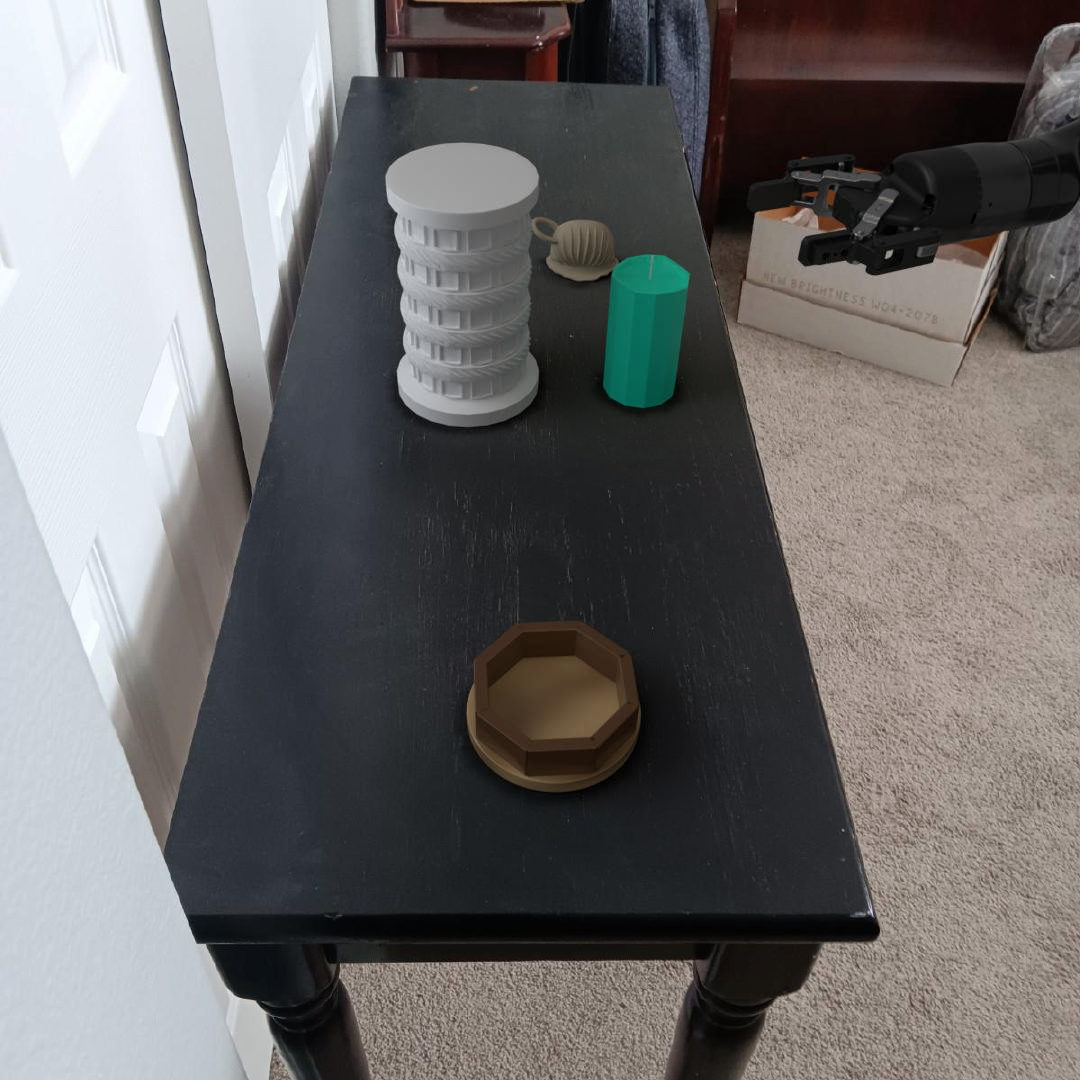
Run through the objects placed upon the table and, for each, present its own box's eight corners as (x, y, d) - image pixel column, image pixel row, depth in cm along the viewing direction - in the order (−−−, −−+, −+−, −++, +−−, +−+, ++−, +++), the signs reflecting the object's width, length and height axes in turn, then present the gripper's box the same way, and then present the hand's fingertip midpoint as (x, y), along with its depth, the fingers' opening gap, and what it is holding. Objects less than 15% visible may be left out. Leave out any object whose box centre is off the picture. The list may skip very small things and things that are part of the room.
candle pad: (673, 712, 65) (680, 676, 63) (564, 826, 60) (566, 792, 57) (544, 625, 70) (545, 589, 68) (431, 723, 64) (427, 687, 62)
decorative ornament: (618, 283, 100) (623, 231, 96) (529, 279, 100) (530, 227, 97) (618, 261, 103) (622, 209, 99) (531, 257, 103) (532, 205, 99)
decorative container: (467, 446, 83) (460, 233, 70) (368, 383, 88) (345, 175, 76) (567, 383, 89) (577, 176, 76) (469, 327, 94) (463, 126, 82)
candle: (631, 416, 86) (645, 284, 77) (588, 378, 89) (597, 248, 81) (690, 392, 88) (709, 262, 80) (645, 356, 92) (659, 228, 83)
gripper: (917, 112, 89) (740, 137, 85) (1025, 192, 79) (832, 224, 75) (893, 197, 94) (726, 224, 90) (992, 281, 84) (810, 316, 80)
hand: (774, 224), depth 82 cm, fingers open, 8 cm apart
